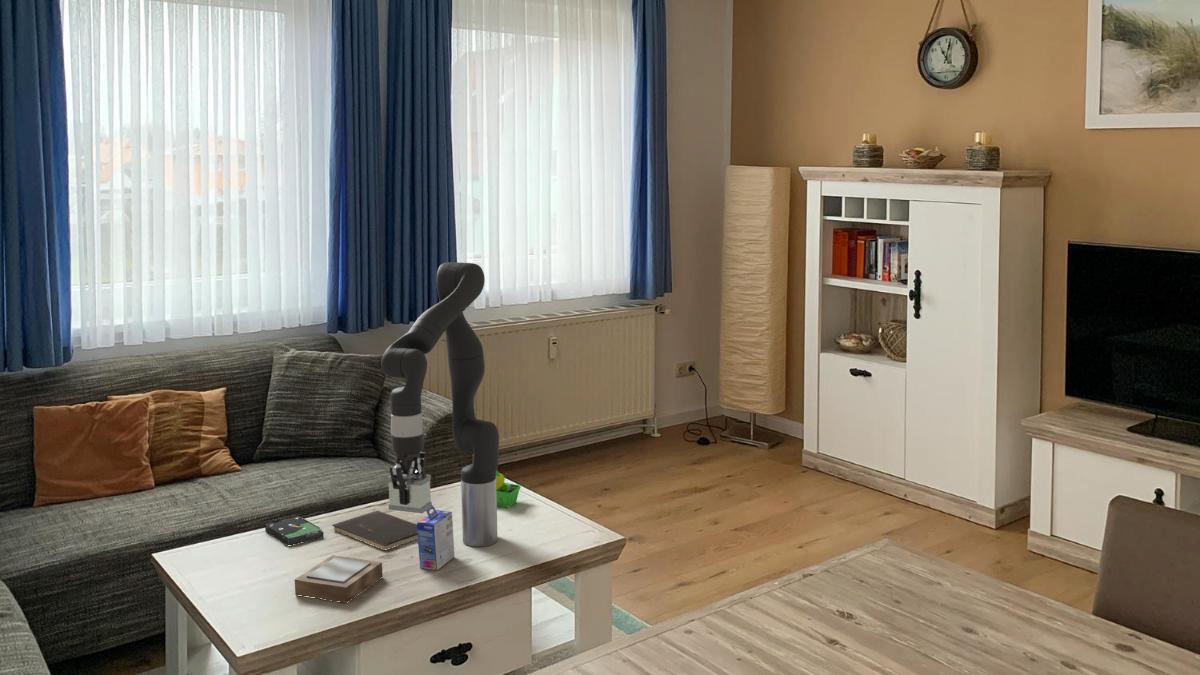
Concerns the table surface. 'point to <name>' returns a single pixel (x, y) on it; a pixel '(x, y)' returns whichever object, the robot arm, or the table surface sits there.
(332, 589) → the walnut stand
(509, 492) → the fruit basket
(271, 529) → the disk drive
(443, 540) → the ink cartridge box
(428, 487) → the box
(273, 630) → the table surface
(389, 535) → the hardcover book
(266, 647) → the table surface
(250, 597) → the table surface
